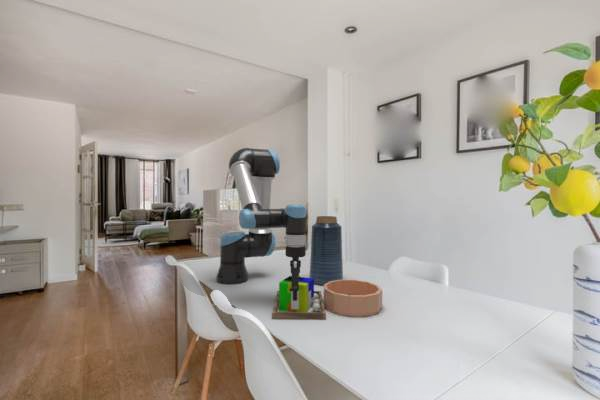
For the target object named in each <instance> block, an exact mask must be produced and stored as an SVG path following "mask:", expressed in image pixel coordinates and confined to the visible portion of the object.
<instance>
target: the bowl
mask: <svg viewBox="0 0 600 400" xmlns="http://www.w3.org/2000/svg"><path fill="white" fill-rule="evenodd" d="M323 302H324V307H325V310H327V311H329V312H330V313H333V314H336V315H339V316H344V317H350V318H351V317H353V318H354V317H355V318H362V317H371V316H374V315H377V314H378V313H380V312H381V310H382V307H383V289H382V287H381V286H380V285H378V284H375V283H373V282H370V281H367V280H358V279H343V280H335V281H329V282H328V283H326V284H324V285H323Z"/></svg>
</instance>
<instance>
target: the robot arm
mask: <svg viewBox="0 0 600 400" xmlns="http://www.w3.org/2000/svg"><path fill="white" fill-rule="evenodd" d="M280 168H281V163H280V158H279V154H278V153H277V152H276V151H274V150H271V149H267V148H266V149H265V148H262V149H261V148H249V147H243V148H240V149H238V150H237V151H236V152H234V153H233V154H232V156H231V157H230V160H229V161H228V170H229V173H230V176H232V177H233V179H234V183H235V187H236V190H237V193H238V198H239V201H240V205H241V209H240V210H239V214H238V221H239V224H238V225H239V226H240V228H241V229H245V230H246V229H248V233H246V232H245V231H242V230H241V231H231V232H227V233H224V234H221V237H220V242H219V243H220V244H219V247H220V259H219V263H220V265H219V268H218V271H217V273H216V274H217V275H216V282H217V283H219V284H222V285H236V284H241V283H245V282H247V281H248V280H249V274H248V271H247V266H246V264H245V262H246V261H245V260H246V259H245V258H247V259H248V258H258V257H262V258H263V257H268V256H271V255H273V252H274V251H275V247H276V236H275V234H274V233H273V232H272V229H279V228H282V229H283V228H285V236H284V237H283V239H284V240H285V245H286V246H285V256H286V257H288V258H291V260H289V267H290V274H291V276H292V285H291V289H289V291H291V309H299V277H300V273H301V266H302V265H301V264H302V262H301V261H302V260H300V258H304V257H306V255H307V254H306V253H307V252H306V246H305V245H307V239H306V238H307V234H306V232H307V231H306V230H307V229H306V228H307V227H306V226H307V213H306V212H307V211H306V209H307V207H306V205H305V204H289V203H288V204H287V205H285V208H283V207H282V208H271V198H272V197H271V196H272V195H271V194H272V182H273V180H274V179H275V178H276V176H275V175H277V174H278V173H280ZM294 286H296V287H294Z"/></svg>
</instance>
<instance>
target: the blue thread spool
mask: <svg viewBox="0 0 600 400" xmlns="http://www.w3.org/2000/svg"><path fill="white" fill-rule="evenodd" d="M337 217H338V216H332V215H331V216H330V215H326V216H325V215H320V216H319V215H318V216H316V219H315V223H314V224H312V226H311V239H310V241H311V242H310V257H309V258H310V259H309V261H310V262H309V277H308V278H313V279H314V285H318V286H324V284H326V283H328V282H329V281H335V280H344V275H343V274H344V271H343V270H344V269H343V265H344V264H343V263H344V262H343V244H342V243H343V241H342V240H343V239H342V238H343V237H342V236H343V235H342V231H343V230H342V228H343V226H342V225H340V224H339V223H338V218H337Z"/></svg>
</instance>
